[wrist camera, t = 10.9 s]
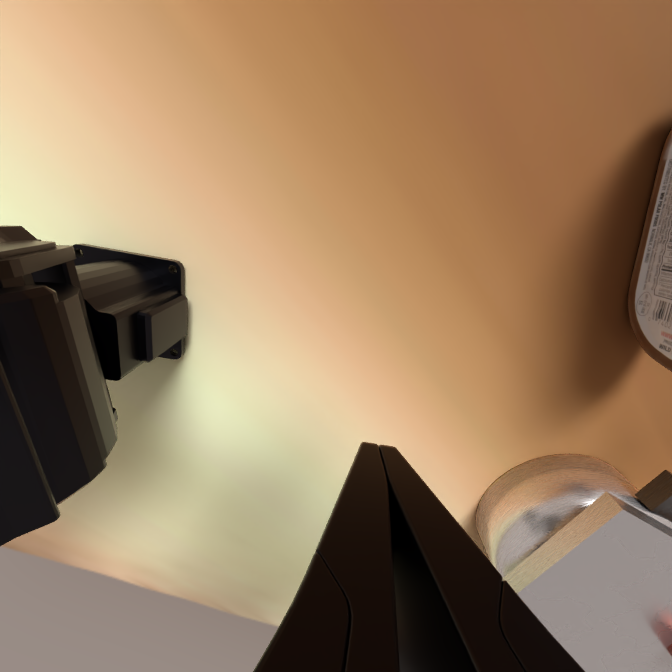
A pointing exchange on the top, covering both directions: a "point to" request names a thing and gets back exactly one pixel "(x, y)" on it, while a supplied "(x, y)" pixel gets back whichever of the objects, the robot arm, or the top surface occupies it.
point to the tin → (655, 270)
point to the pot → (556, 503)
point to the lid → (604, 588)
